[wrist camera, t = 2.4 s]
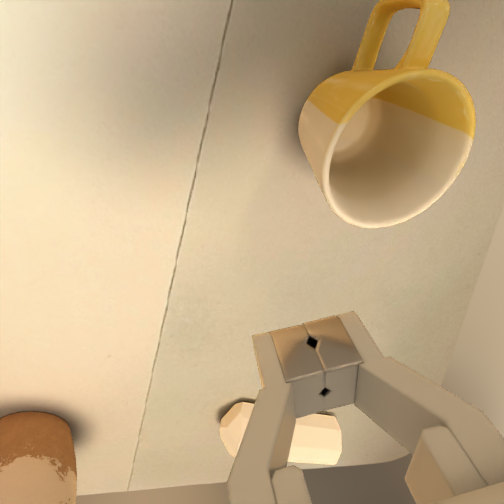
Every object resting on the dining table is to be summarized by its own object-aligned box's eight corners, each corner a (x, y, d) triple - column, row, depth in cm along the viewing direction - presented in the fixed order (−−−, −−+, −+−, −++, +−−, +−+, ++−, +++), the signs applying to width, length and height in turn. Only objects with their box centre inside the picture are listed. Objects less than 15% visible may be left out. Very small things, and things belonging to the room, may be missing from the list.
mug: (354, 184, 34) (414, 241, 25) (262, 157, 30) (297, 213, 22) (437, 32, 27) (556, 41, 19) (330, -26, 23) (418, -46, 15)
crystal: (204, 452, 52) (319, 461, 63) (226, 457, 47) (348, 466, 57) (211, 400, 56) (318, 417, 66) (233, 399, 50) (346, 417, 61)
